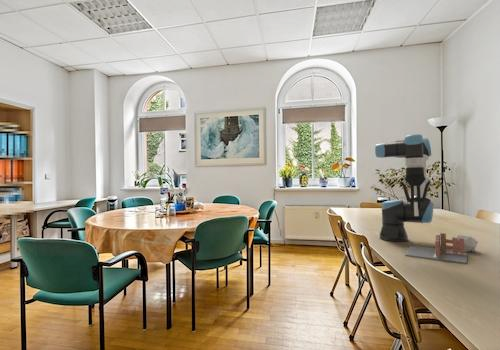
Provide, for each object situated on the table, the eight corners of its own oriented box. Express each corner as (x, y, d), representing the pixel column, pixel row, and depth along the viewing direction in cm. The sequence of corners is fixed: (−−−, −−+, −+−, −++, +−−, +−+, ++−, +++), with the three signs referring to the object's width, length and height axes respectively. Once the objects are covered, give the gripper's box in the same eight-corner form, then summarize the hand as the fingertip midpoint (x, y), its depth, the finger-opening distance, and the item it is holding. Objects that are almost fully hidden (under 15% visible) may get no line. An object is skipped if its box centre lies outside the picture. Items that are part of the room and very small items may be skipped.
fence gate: (436, 249, 135) (435, 234, 135) (440, 250, 134) (439, 235, 134) (435, 256, 124) (434, 240, 125) (440, 256, 123) (439, 240, 123)
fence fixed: (441, 252, 132) (440, 233, 132) (441, 251, 134) (440, 232, 134) (464, 254, 127) (463, 235, 127) (464, 253, 128) (463, 234, 128)
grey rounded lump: (479, 255, 129) (483, 237, 132) (461, 246, 131) (465, 228, 134) (466, 257, 137) (471, 240, 140) (449, 248, 138) (454, 231, 141)
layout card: (412, 246, 146) (412, 245, 146) (467, 253, 131) (467, 251, 131) (405, 255, 130) (405, 254, 130) (466, 264, 116) (466, 262, 116)
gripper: (398, 167, 132) (400, 216, 132) (430, 166, 125) (432, 217, 125) (400, 167, 138) (402, 213, 138) (431, 166, 131) (433, 215, 131)
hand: (416, 215), depth 132 cm, fingers closed
